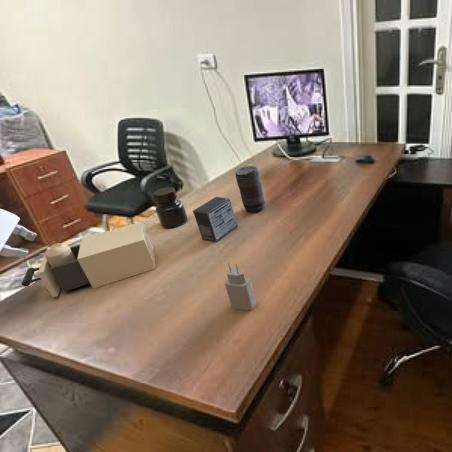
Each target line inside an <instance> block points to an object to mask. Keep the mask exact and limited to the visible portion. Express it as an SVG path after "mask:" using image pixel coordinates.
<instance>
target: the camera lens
mask: <svg viewBox="0 0 452 452" xmlns="http://www.w3.org/2000/svg"><path fill="white" fill-rule="evenodd" d="M234 173H235V180H236V184H237V187H238V189H239V194H240V198H241V202H242V205H243V208H245V211H246V213H251V214H254V213H255V214H256V213H258V212H259V213H260V212H261V211H263V210H265V204H266V201H265V194H264V190H263V186H262V178H261V174H260V170H259V168H258V167H257V166H253V165H251V166H250V165H247V166H243V167H241V168H237V170H235V171H234Z"/></svg>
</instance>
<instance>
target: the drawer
mask: <svg viewBox="0 0 452 452" xmlns="http://www.w3.org/2000/svg"><path fill="white" fill-rule="evenodd" d="M80 244H81V243H80ZM80 244H76V245H72V246H69V247H70V249H71V251H72V253H73V254H74V256H75V258H76V260H75V261H71V262H68V263H64V264H61V265H58V266H54V267H51V266H50V264H49V263H48V261H47V259H46V258H45V256H44V255H43V256H42V257H43V258H42V260H41V263H40V265H39V266H38V267H35V268H34V267H28V268H27V270H26V272H25V275H24V276H23V279H22V281H21V286H23V287H25V288H26V287H29V286H30V285H31V284H32V283H35V282H38V281H42V283H43V284H44V286H45V288H46V289H47V291H48V293H49V294H50V296H51V297H52V298H56V297H58V296H59V295H60V294H59V293H60V290H61V289H62V291H63V292H67V291H70V290H73V289H76V288H80V287H82V286H86V285H88V284H90V282H89V280H88V278H87V276H86V274H85V273H84V271H83V269H82V267H81V265H80V263H79V262H78V260H77V258H78V253H79V249H80ZM36 272H37V275H38V276H39V277H36V278H34V275H35V273H36Z"/></svg>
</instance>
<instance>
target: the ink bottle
mask: <svg viewBox="0 0 452 452" xmlns="http://www.w3.org/2000/svg"><path fill="white" fill-rule="evenodd" d="M152 195H153V197H154V200H155V203H156V204H157V205H156V207H155V212H156V215H157V218H158V220H159V223H160V226H161V227H162V228H165V229H171V228H176V227H180V226H182V225H184V224H185V223H187V221H188V215H187V212H186V209H185V205H184V203H183V202H182V200H180V199H178V194H177V192H176V189H175V187H173V186H171V187H170V186H169V187H163V188H162V187H161V188H159V189H156V190H155V191H154V192H153V193H152Z"/></svg>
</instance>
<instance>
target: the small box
mask: <svg viewBox="0 0 452 452" xmlns="http://www.w3.org/2000/svg"><path fill="white" fill-rule="evenodd" d="M192 213H193V216H194V218H195V221H196V224H197V227H198V230H199V233H200V236H201V239H202V240H204V241H208V242H212V243H217V242H219V241H220V240H221V239H223V238H225V237H226V236H227V235H228V234H229V233H231V232H232V231H234V230H235V229H236V228H237V227H238V223H237V220H236V217H235V213H234V210H233V205H232V202H231V198H229V197H220V196H215V197H213V198H212V199H210V200H208V201H207V202H205V203H204V204H202V205H200V206H198V207H196V208H195V209H194V210H192Z"/></svg>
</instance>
